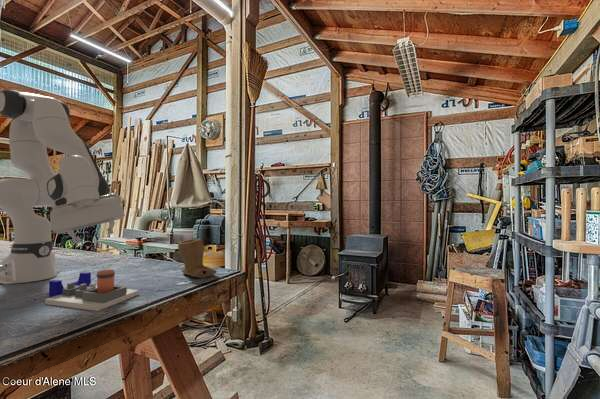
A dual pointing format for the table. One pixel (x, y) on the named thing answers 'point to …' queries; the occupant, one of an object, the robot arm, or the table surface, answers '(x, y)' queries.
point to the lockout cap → (105, 281)
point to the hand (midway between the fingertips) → (94, 238)
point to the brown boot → (194, 258)
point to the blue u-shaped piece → (57, 287)
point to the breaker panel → (90, 297)
